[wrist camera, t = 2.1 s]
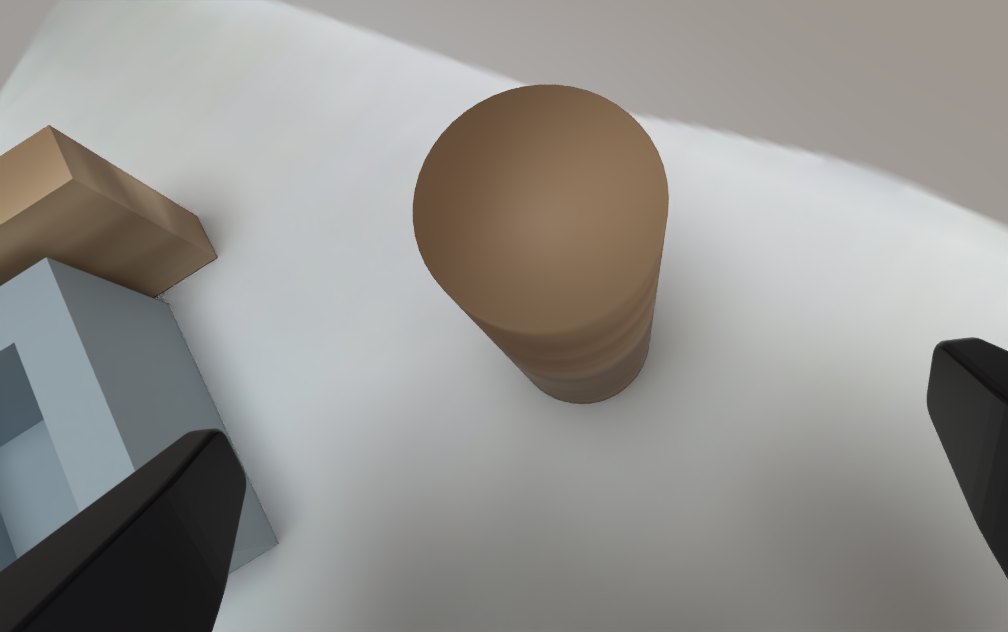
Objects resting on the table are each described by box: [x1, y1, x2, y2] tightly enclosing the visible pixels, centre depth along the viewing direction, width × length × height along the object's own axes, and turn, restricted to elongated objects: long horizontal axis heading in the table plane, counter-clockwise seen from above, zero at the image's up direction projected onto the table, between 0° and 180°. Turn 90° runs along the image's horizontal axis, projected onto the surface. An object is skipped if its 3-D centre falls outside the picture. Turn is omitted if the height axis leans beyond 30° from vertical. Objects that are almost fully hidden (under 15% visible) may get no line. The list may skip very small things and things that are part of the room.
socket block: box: [0, 257, 279, 574], centre depth 19 cm, size 8×8×5 cm
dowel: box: [413, 85, 669, 404], centre depth 15 cm, size 4×4×10 cm
